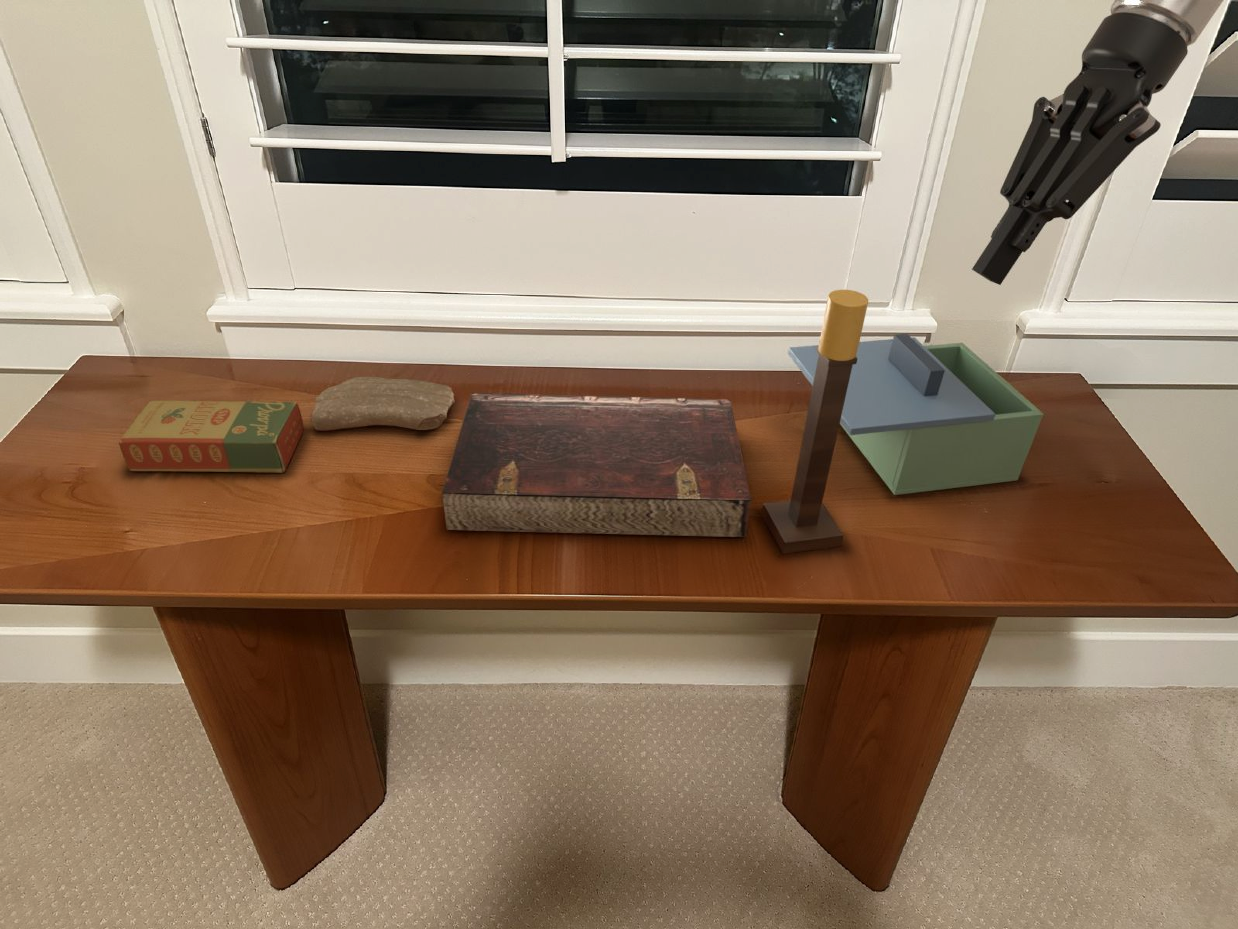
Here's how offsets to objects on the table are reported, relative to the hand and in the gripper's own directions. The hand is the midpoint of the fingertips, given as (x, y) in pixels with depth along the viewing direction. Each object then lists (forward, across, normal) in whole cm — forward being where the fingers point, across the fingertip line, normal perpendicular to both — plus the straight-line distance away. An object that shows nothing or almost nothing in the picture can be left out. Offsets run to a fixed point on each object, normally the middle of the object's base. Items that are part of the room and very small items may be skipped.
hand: (986, 276), depth 79 cm
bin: (+18, +6, -12) cm, 22 cm away
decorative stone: (+44, +26, +41) cm, 66 cm away
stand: (+29, -4, +5) cm, 30 cm away
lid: (+14, +6, -2) cm, 15 cm away
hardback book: (+36, +9, +21) cm, 43 cm away
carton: (+54, +23, +56) cm, 81 cm away
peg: (+12, -6, +15) cm, 20 cm away
